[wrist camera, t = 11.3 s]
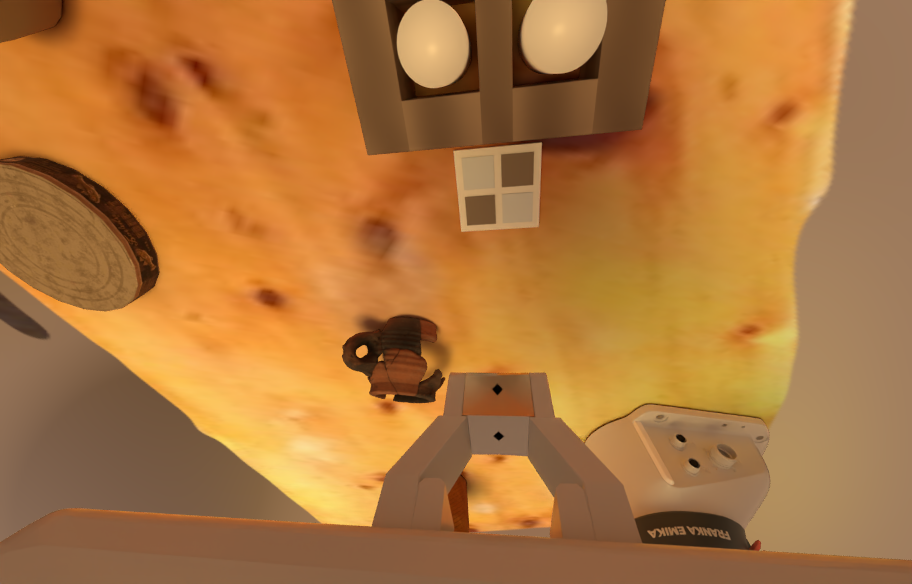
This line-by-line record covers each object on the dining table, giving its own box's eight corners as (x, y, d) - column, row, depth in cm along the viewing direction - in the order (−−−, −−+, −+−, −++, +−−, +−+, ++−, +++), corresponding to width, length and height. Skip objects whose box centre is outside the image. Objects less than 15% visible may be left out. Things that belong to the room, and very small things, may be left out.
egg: (469, 9, 21) (464, -7, 17) (473, 82, 23) (470, 84, 19) (409, 18, 22) (390, 4, 18) (418, 89, 24) (404, 91, 20)
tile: (541, 141, 26) (542, 142, 26) (538, 225, 30) (538, 227, 29) (453, 150, 27) (453, 151, 27) (461, 230, 31) (461, 232, 30)
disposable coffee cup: (486, 488, 56) (485, 578, 46) (440, 499, 60) (430, 584, 50) (456, 460, 52) (448, 551, 42) (409, 473, 55) (391, 560, 45)
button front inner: (586, -12, 19) (613, -36, 15) (579, 70, 21) (601, 68, 17) (517, -2, 20) (525, -22, 16) (517, 77, 22) (524, 77, 18)
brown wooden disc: (189, 294, 38) (168, 310, 36) (72, 297, 40) (45, 312, 38) (97, 149, 30) (61, 156, 27) (-46, 161, 32) (-91, 168, 29)
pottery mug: (463, 326, 38) (457, 401, 34) (430, 344, 45) (422, 407, 42) (358, 299, 33) (339, 382, 30) (341, 324, 41) (324, 393, 37)
